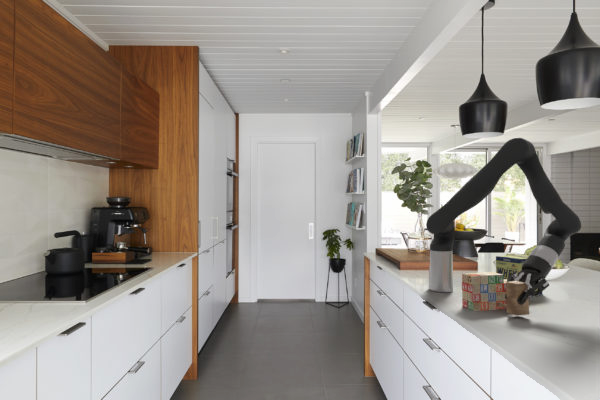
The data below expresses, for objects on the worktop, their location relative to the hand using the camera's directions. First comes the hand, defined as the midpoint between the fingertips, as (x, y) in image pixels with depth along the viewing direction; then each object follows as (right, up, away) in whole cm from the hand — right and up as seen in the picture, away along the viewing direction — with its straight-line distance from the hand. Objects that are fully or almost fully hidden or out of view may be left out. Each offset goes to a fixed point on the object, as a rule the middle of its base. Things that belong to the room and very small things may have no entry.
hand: (513, 301), depth 124 cm
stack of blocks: (+1, -6, +14) cm, 15 cm away
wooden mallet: (+1, -4, +3) cm, 5 cm away
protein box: (+22, -6, +35) cm, 42 cm away
